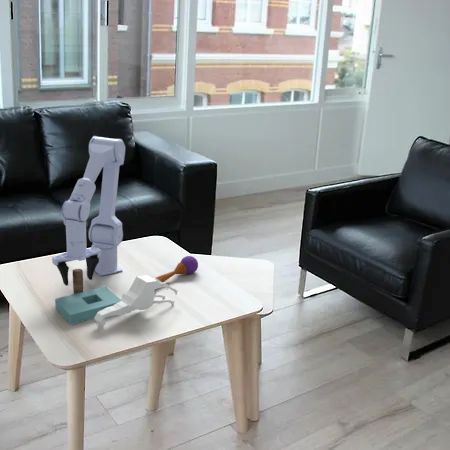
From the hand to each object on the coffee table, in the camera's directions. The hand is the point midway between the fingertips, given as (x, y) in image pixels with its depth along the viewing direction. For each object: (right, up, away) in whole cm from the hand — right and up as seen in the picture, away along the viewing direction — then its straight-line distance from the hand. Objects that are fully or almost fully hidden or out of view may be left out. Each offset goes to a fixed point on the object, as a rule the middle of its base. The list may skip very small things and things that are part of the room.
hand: (77, 281), depth 191 cm
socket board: (+5, -8, -6) cm, 11 cm away
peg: (0, -4, +2) cm, 5 cm away
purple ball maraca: (+28, -1, +15) cm, 32 cm away
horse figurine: (+19, -9, -7) cm, 22 cm away
